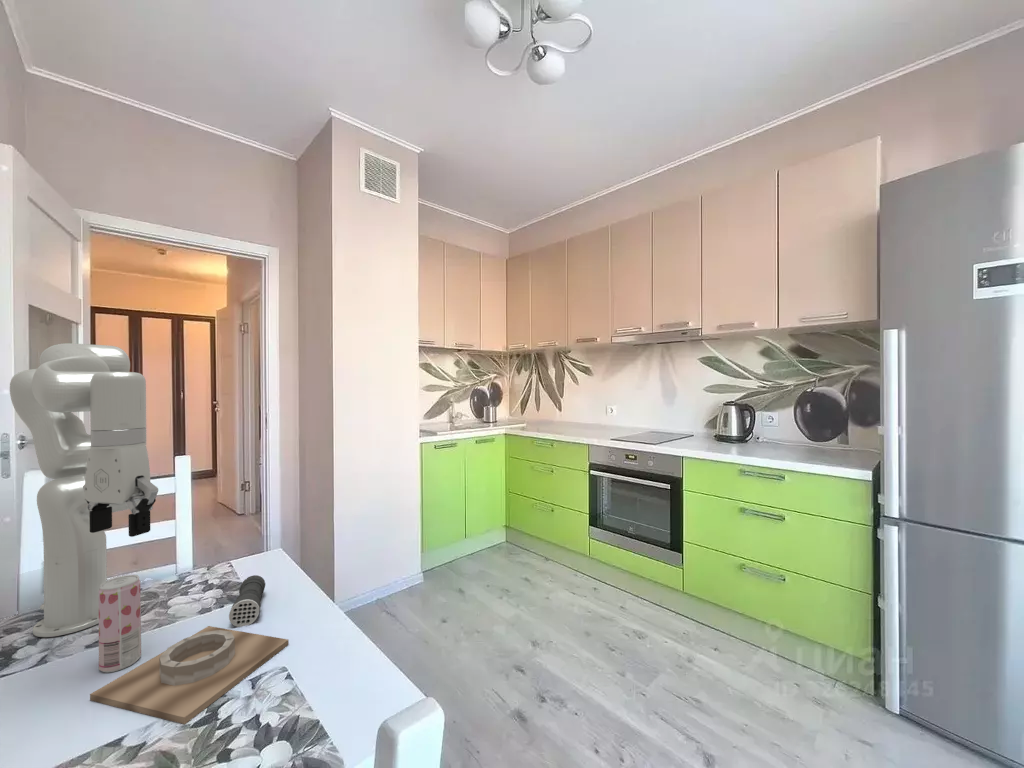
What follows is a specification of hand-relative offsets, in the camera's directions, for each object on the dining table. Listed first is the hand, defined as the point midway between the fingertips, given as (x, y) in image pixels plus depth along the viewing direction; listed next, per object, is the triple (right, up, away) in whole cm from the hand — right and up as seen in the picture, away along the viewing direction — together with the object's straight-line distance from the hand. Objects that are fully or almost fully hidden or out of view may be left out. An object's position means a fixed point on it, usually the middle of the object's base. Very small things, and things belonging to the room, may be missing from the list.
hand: (120, 532), depth 77 cm
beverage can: (0, -24, 0) cm, 24 cm away
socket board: (+16, -24, -2) cm, 29 cm away
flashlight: (+12, -24, +18) cm, 33 cm away
